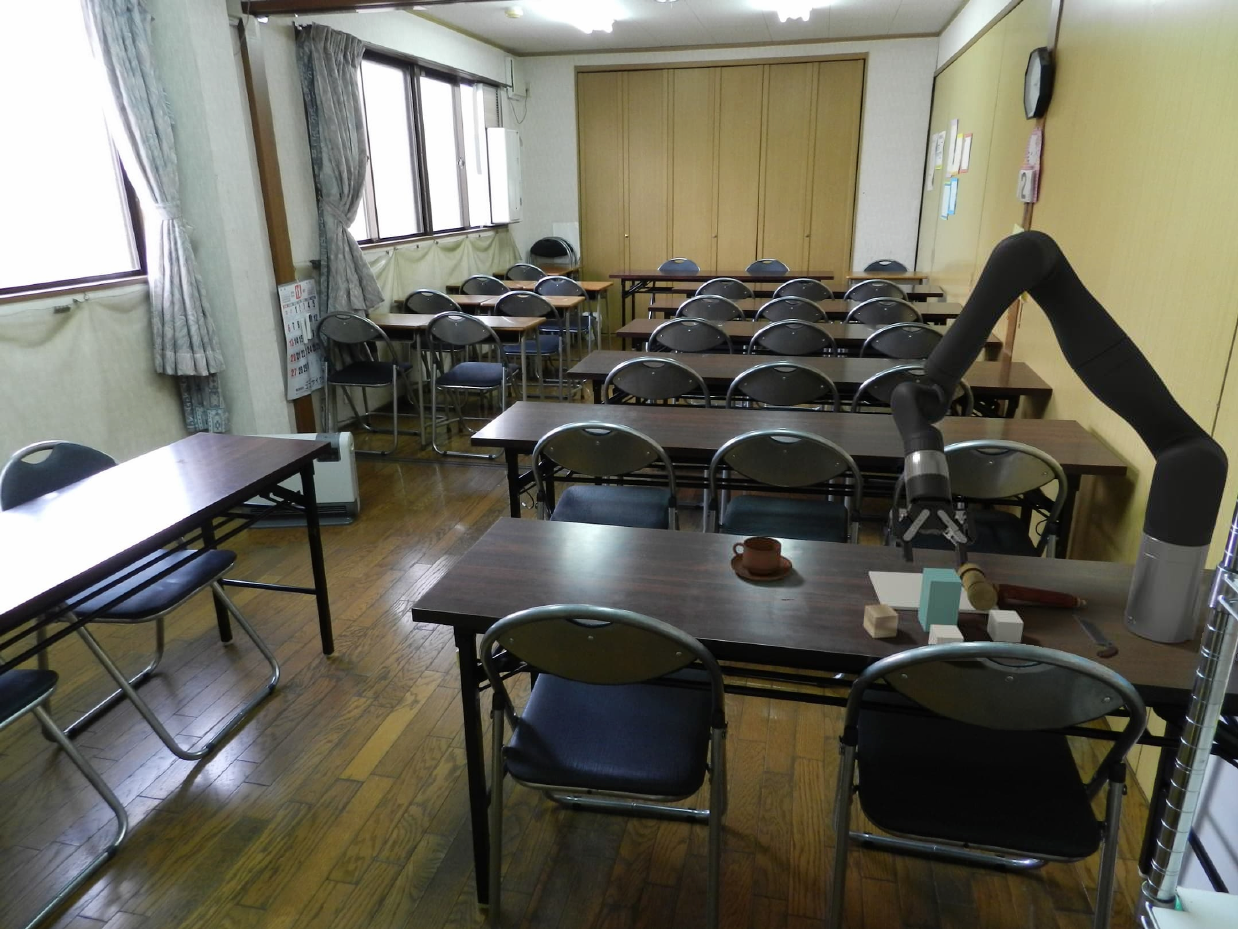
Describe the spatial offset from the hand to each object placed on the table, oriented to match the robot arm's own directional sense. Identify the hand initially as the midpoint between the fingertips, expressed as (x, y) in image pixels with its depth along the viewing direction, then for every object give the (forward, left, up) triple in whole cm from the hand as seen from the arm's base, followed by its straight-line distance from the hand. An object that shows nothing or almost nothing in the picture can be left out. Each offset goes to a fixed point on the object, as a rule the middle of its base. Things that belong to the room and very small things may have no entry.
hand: (935, 564), depth 139 cm
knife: (-25, +6, -10) cm, 27 cm away
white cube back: (+1, +14, -9) cm, 17 cm away
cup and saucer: (+29, -14, -10) cm, 33 cm away
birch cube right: (+10, +8, -9) cm, 16 cm away
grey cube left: (-10, +8, -9) cm, 16 cm away
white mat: (-2, -7, -9) cm, 12 cm away
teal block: (0, +5, -9) cm, 10 cm away
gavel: (-17, -4, -9) cm, 20 cm away
